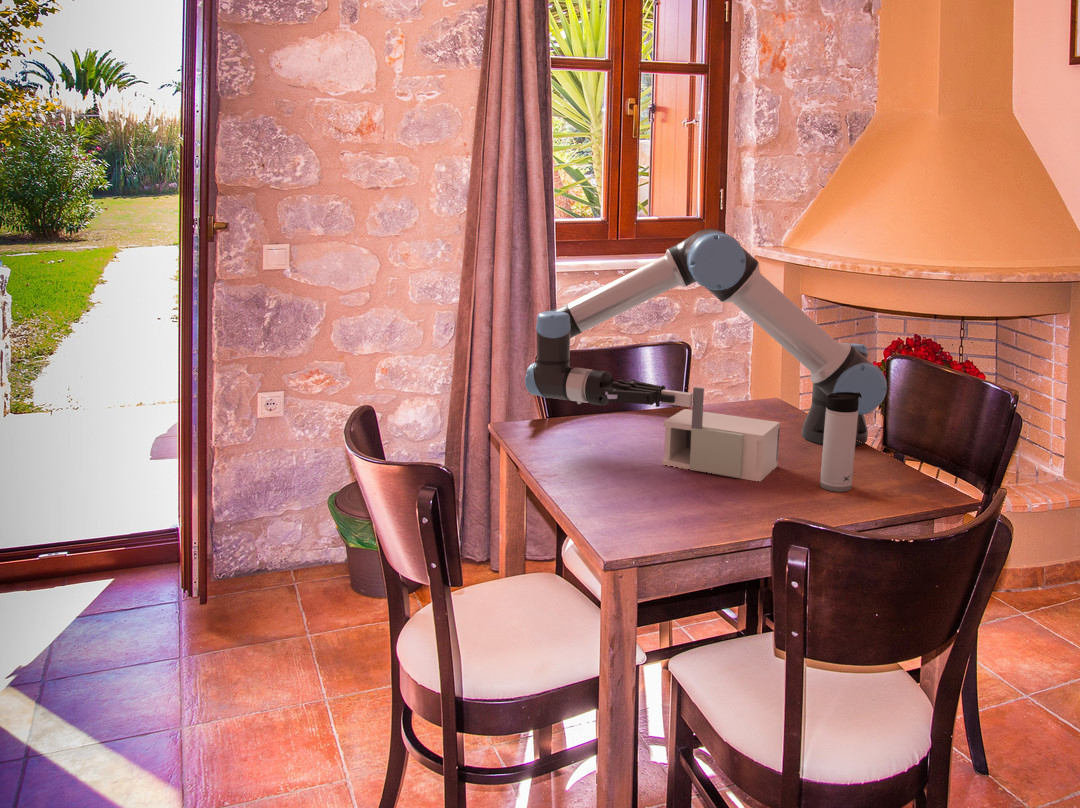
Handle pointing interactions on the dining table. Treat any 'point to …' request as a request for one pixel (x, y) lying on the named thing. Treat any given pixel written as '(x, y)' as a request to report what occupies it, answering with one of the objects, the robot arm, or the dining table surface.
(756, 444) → the cream case
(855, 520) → the dining table surface
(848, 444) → the travel mug
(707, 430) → the side door
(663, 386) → the robot arm
